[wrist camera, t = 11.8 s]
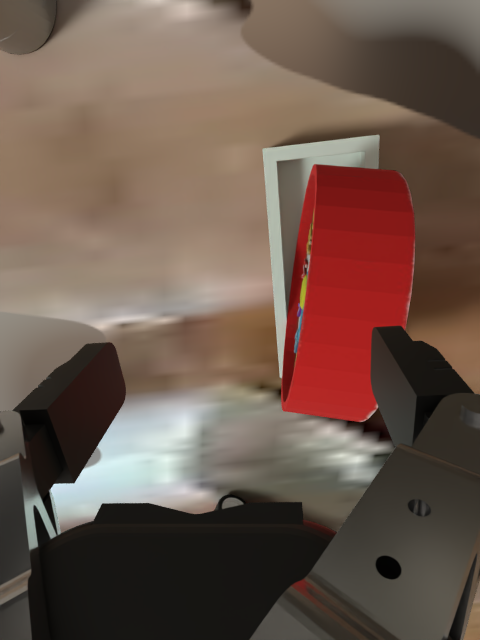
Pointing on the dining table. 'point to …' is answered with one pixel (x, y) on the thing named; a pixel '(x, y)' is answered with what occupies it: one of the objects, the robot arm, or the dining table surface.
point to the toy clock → (346, 287)
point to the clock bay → (300, 204)
